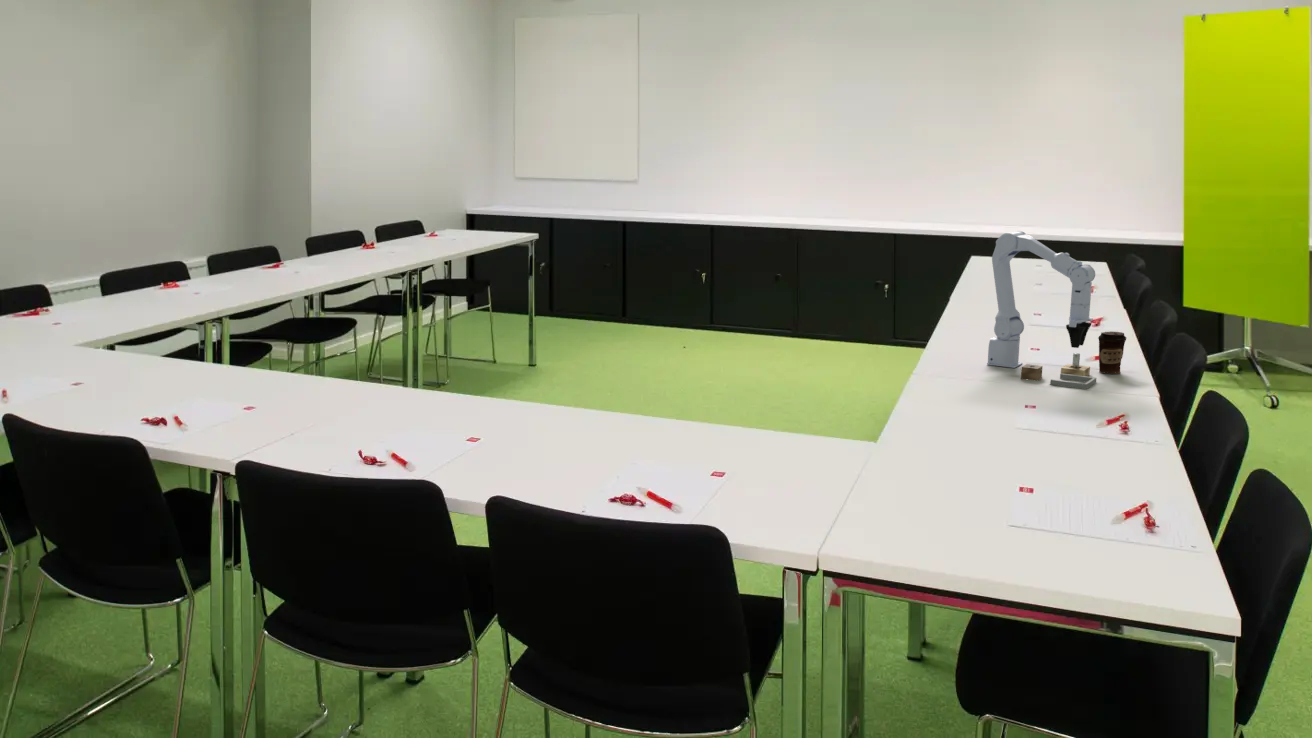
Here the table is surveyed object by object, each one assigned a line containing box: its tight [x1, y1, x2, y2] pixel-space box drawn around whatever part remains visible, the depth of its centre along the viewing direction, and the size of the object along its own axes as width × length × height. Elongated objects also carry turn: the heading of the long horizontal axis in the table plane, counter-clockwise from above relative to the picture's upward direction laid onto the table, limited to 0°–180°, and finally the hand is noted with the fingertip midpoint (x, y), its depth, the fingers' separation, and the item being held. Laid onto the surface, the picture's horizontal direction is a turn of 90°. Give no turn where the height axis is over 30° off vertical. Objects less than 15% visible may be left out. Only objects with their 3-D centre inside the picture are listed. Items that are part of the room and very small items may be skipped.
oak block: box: [1060, 363, 1091, 377], centre depth 348 cm, size 7×7×3 cm
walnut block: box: [1020, 363, 1043, 382], centre depth 344 cm, size 5×5×4 cm
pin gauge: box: [1072, 352, 1081, 369], centre depth 347 cm, size 2×2×7 cm
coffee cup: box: [1097, 331, 1127, 375], centre depth 350 cm, size 9×8×13 cm
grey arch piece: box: [1049, 373, 1098, 390], centre depth 337 cm, size 11×11×2 cm
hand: (1077, 346), depth 346 cm, fingers open, 4 cm apart
